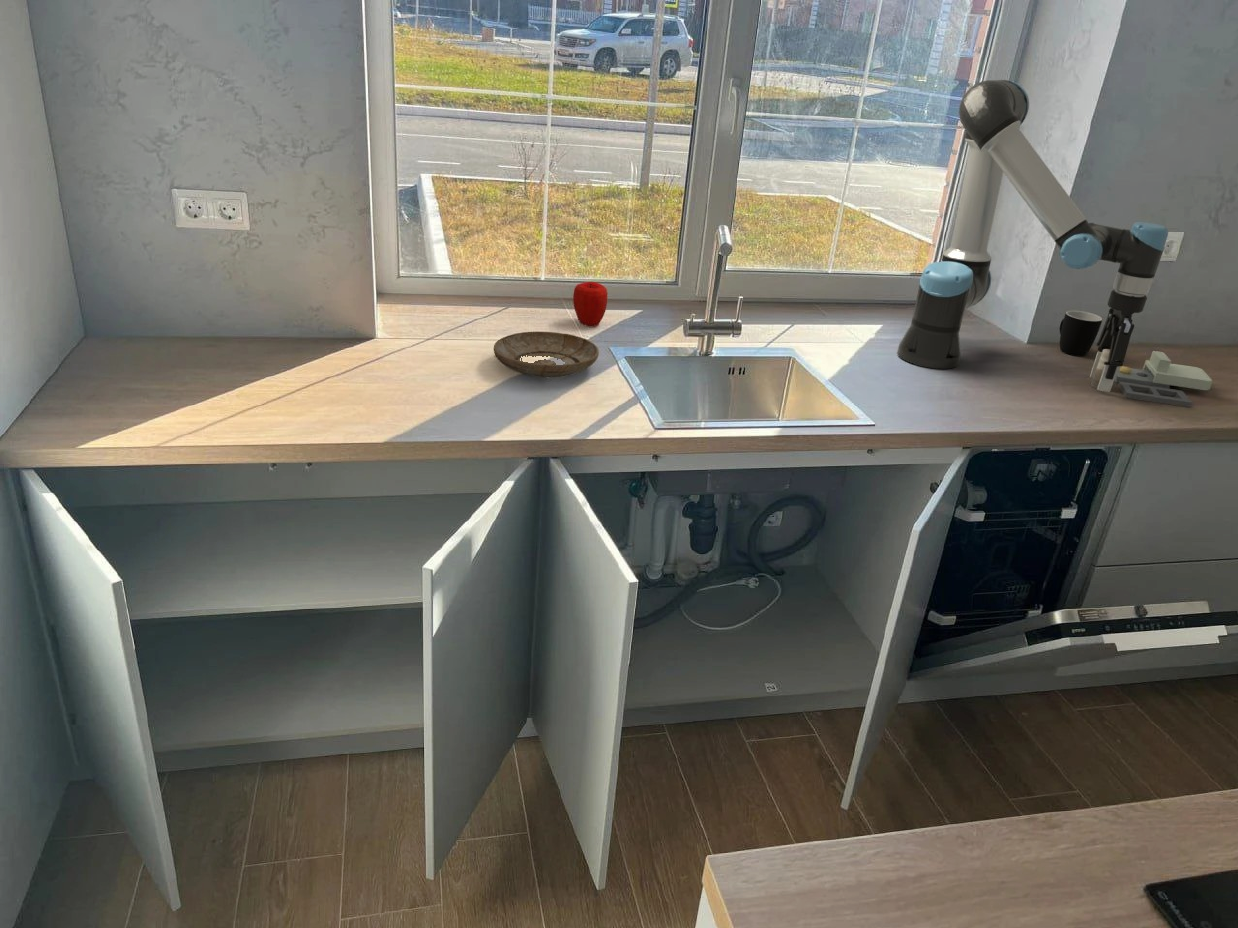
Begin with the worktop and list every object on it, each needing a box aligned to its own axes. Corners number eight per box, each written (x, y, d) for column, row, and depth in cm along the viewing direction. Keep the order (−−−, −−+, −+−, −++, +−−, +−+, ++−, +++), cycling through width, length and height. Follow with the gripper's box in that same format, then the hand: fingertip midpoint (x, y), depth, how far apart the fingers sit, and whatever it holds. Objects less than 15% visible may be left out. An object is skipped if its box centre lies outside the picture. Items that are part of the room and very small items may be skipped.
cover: (1153, 382, 222) (1160, 361, 220) (1142, 368, 231) (1150, 348, 229) (1209, 390, 220) (1218, 369, 217) (1197, 376, 228) (1205, 356, 226)
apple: (575, 317, 239) (577, 276, 234) (608, 321, 238) (611, 280, 234) (568, 327, 231) (570, 285, 227) (602, 331, 231) (605, 289, 226)
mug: (1098, 358, 241) (1110, 321, 237) (1068, 358, 240) (1079, 320, 235) (1070, 343, 252) (1081, 307, 247) (1041, 342, 250) (1051, 306, 246)
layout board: (1115, 382, 225) (1119, 372, 224) (1107, 370, 233) (1111, 360, 231) (1168, 390, 222) (1172, 380, 221) (1158, 378, 230) (1162, 368, 229)
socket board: (1125, 397, 216) (1127, 392, 215) (1118, 386, 223) (1119, 381, 222) (1190, 407, 213) (1191, 402, 212) (1180, 395, 220) (1182, 390, 219)
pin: (1091, 387, 220) (1104, 352, 216) (1089, 382, 223) (1102, 348, 219) (1107, 390, 219) (1120, 355, 215) (1105, 385, 222) (1118, 350, 218)
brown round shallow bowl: (619, 371, 206) (620, 350, 204) (542, 395, 190) (543, 373, 188) (548, 343, 220) (549, 323, 218) (471, 363, 204) (471, 342, 202)
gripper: (1159, 306, 201) (1126, 402, 211) (1136, 283, 219) (1106, 372, 229) (1122, 302, 202) (1091, 397, 212) (1102, 279, 221) (1075, 367, 231)
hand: (1099, 384), depth 221 cm, fingers open, 8 cm apart
